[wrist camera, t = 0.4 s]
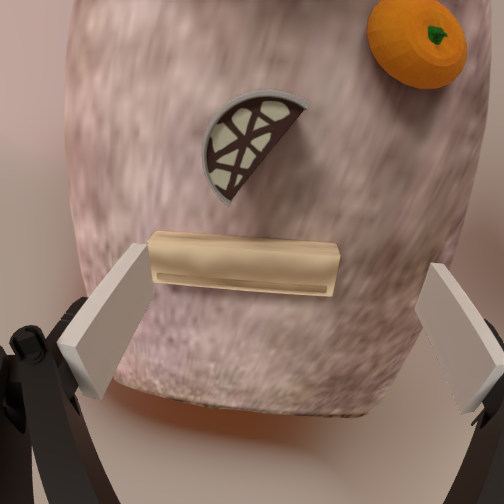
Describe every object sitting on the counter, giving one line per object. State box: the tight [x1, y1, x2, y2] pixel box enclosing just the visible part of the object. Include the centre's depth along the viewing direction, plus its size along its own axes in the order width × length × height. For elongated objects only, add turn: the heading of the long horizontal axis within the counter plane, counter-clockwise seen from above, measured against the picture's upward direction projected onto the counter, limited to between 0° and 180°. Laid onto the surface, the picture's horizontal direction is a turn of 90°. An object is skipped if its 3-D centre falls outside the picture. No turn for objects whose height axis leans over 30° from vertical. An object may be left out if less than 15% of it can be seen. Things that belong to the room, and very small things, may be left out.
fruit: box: [367, 0, 467, 89], centre depth 23 cm, size 12×12×10 cm
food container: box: [202, 89, 310, 206], centre depth 30 cm, size 12×6×10 cm, turn 143°
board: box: [147, 231, 340, 297], centre depth 40 cm, size 6×24×4 cm, turn 87°
